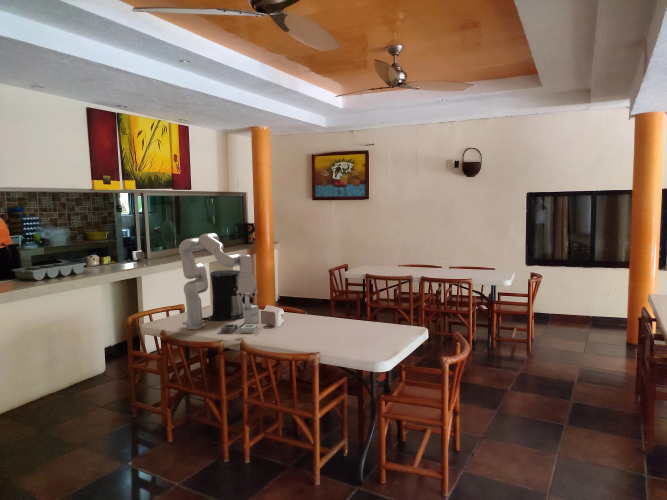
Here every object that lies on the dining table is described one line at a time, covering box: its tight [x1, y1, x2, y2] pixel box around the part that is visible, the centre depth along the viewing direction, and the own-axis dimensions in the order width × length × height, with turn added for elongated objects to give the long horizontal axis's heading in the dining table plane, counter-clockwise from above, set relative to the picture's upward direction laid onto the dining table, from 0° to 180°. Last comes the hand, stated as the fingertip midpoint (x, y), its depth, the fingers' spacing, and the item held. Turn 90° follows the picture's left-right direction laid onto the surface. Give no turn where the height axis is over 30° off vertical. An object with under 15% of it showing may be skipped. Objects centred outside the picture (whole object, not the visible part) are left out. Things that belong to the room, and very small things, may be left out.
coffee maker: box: [202, 269, 245, 322], centre depth 336 cm, size 23×32×34 cm
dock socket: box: [240, 323, 258, 333], centre depth 297 cm, size 8×8×3 cm
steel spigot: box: [244, 293, 252, 310], centre depth 295 cm, size 4×4×10 cm
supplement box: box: [243, 304, 260, 324], centre depth 317 cm, size 7×7×13 cm
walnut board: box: [216, 323, 262, 335], centre depth 298 cm, size 25×14×4 cm, turn 83°
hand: (247, 303), depth 295 cm, fingers closed on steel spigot, 4 cm apart
